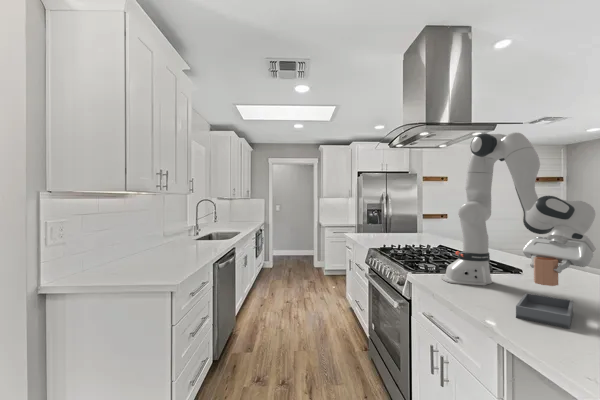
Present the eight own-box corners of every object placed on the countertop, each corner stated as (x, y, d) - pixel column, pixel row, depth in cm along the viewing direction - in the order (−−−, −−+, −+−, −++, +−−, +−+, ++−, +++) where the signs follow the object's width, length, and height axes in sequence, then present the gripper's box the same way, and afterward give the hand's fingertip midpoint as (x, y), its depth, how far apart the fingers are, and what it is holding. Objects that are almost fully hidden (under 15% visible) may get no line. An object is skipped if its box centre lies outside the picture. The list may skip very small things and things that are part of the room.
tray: (569, 328, 100) (569, 316, 100) (516, 317, 109) (516, 305, 109) (573, 311, 114) (573, 300, 114) (525, 303, 124) (525, 292, 124)
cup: (548, 286, 108) (548, 261, 108) (530, 281, 114) (529, 257, 114) (562, 284, 110) (562, 259, 110) (542, 280, 116) (542, 256, 116)
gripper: (530, 231, 124) (511, 258, 121) (592, 236, 104) (572, 269, 101) (538, 242, 125) (520, 269, 122) (601, 249, 106) (582, 282, 103)
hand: (544, 269), depth 111 cm, fingers closed on cup, 6 cm apart
